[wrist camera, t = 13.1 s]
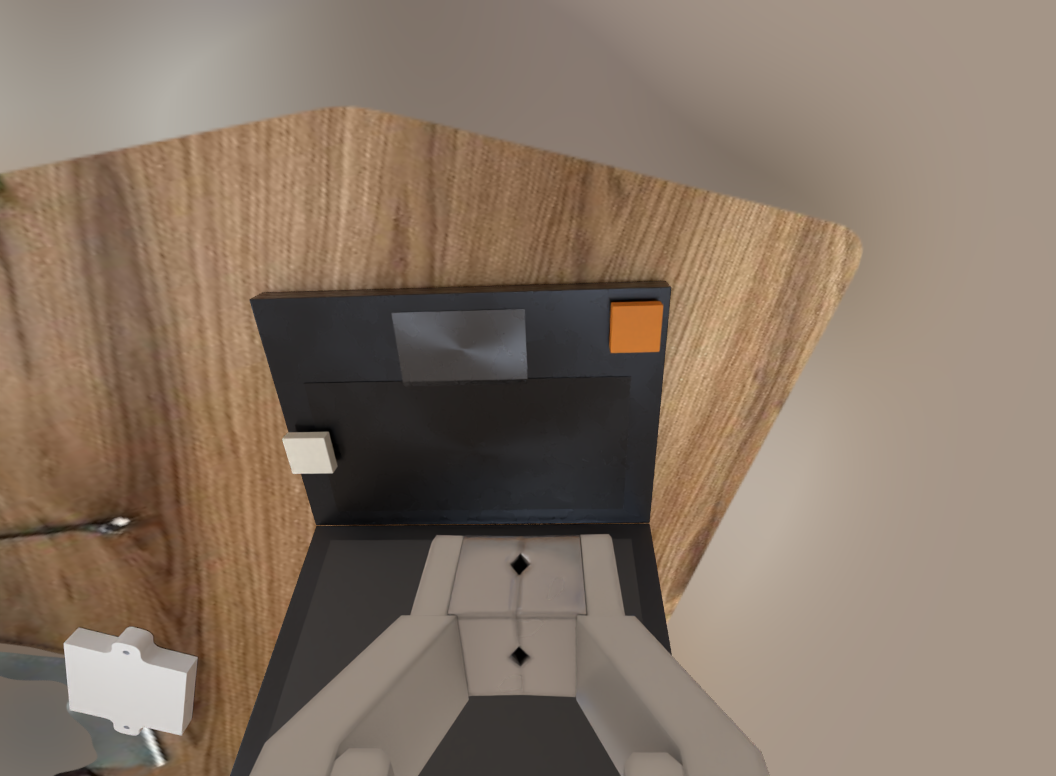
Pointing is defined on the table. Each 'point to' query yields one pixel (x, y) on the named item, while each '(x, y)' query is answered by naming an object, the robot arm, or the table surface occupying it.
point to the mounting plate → (130, 680)
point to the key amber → (635, 326)
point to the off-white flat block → (310, 452)
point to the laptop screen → (388, 592)
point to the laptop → (469, 401)
